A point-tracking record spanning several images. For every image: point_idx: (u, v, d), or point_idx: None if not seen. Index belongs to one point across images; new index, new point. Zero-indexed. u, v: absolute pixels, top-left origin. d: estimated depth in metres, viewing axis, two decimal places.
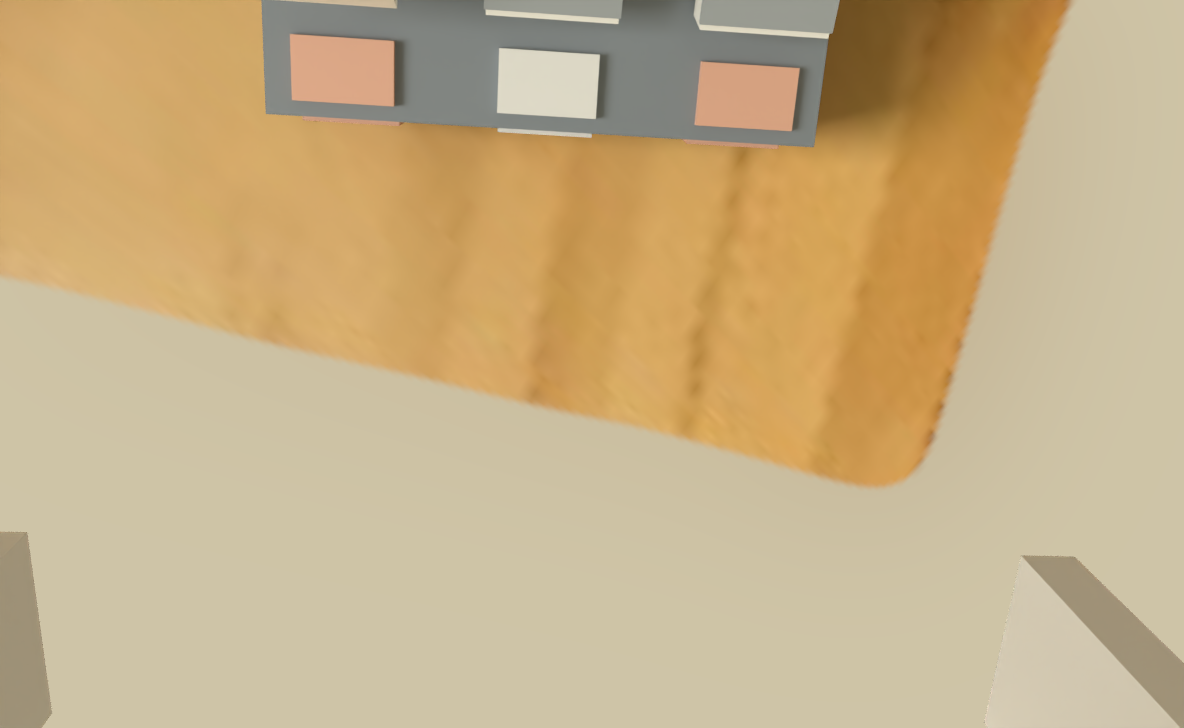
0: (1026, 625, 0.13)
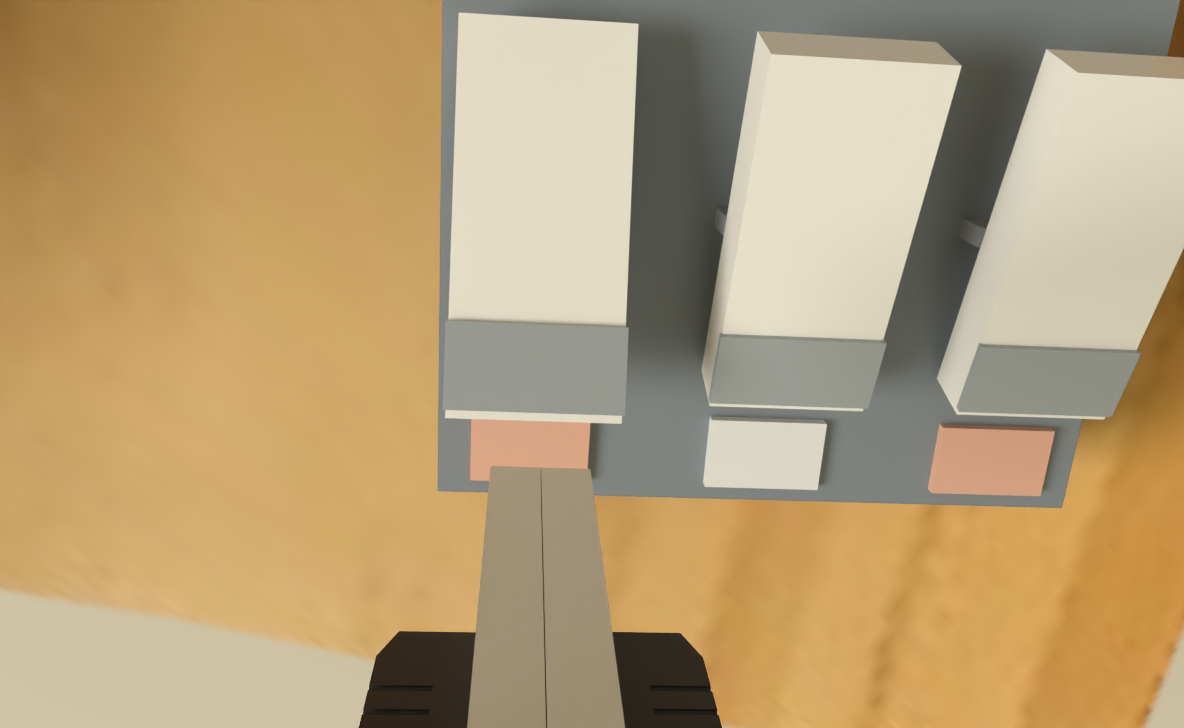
0: None
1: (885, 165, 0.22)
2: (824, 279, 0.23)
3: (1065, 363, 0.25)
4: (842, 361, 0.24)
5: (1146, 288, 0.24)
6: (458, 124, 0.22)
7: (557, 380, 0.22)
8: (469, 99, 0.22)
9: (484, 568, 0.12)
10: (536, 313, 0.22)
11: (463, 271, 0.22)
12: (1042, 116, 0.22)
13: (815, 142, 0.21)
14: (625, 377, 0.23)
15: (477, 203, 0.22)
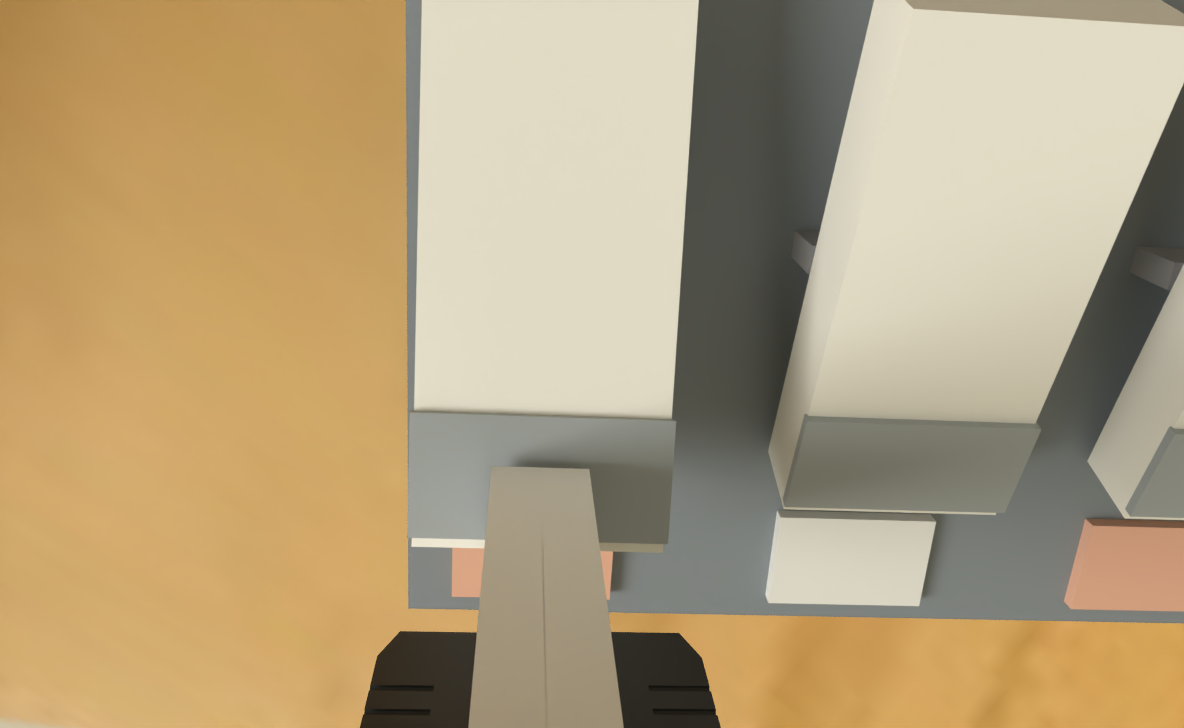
0: None
1: (1070, 180, 0.14)
2: (960, 341, 0.16)
3: None
4: (976, 452, 0.17)
5: None
6: (425, 119, 0.15)
7: None
8: (442, 81, 0.14)
9: (485, 568, 0.12)
10: (542, 400, 0.15)
11: (434, 339, 0.15)
12: None
13: (969, 145, 0.14)
14: (670, 488, 0.16)
15: (455, 239, 0.15)
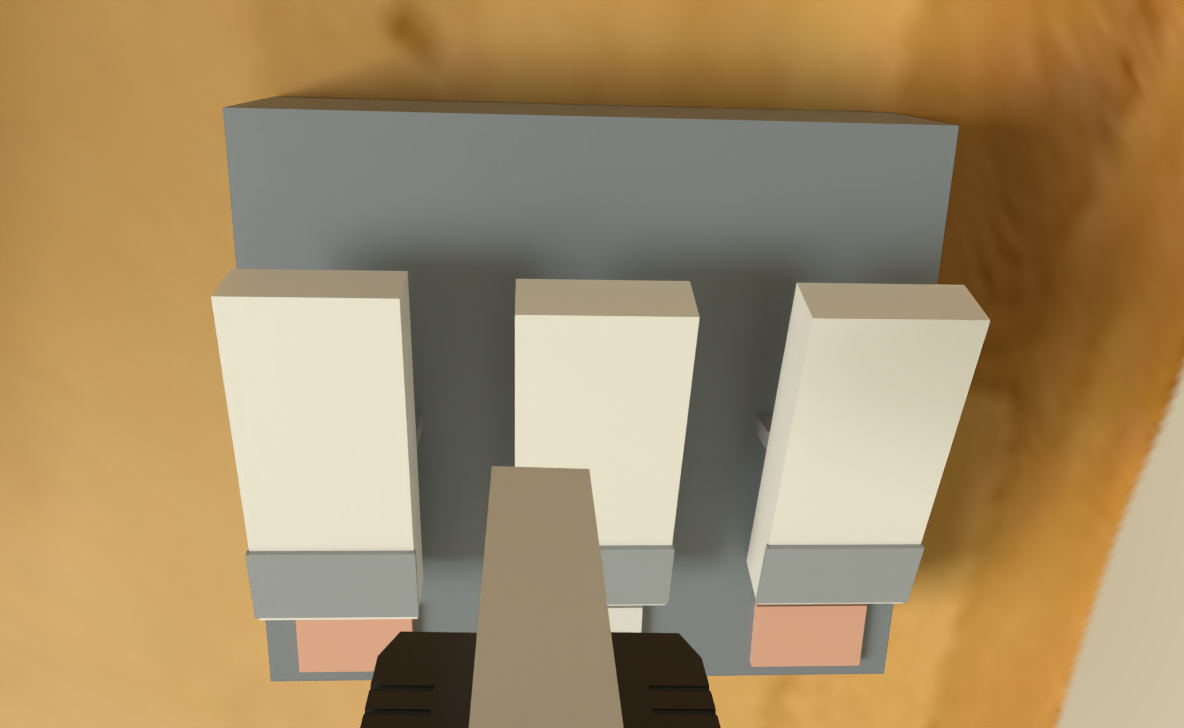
0: None
1: (643, 401, 0.23)
2: (604, 496, 0.24)
3: (852, 559, 0.26)
4: (634, 565, 0.25)
5: (918, 492, 0.25)
6: (229, 395, 0.22)
7: (354, 594, 0.25)
8: (236, 374, 0.22)
9: (486, 568, 0.12)
10: (329, 543, 0.24)
11: (255, 513, 0.24)
12: (796, 346, 0.23)
13: (572, 384, 0.22)
14: (417, 587, 0.25)
15: (260, 460, 0.23)
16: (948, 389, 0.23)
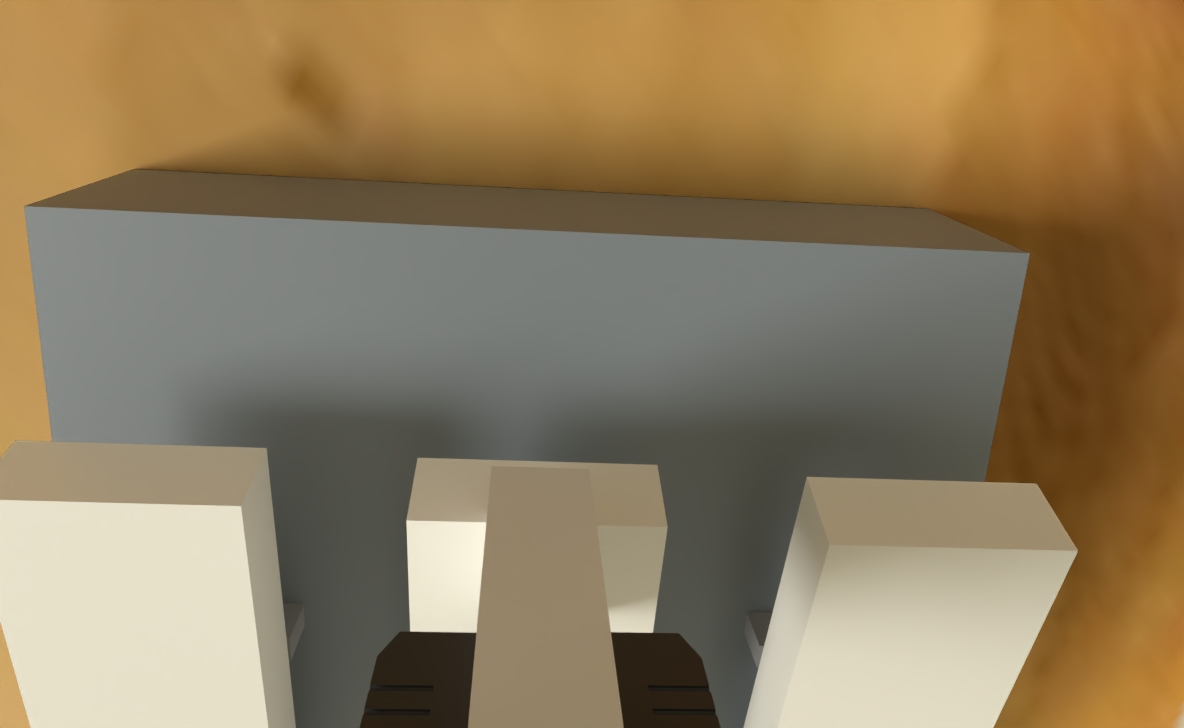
0: None
1: None
2: None
3: None
4: None
5: None
6: (7, 621, 0.16)
7: None
8: (14, 596, 0.16)
9: (485, 568, 0.12)
10: None
11: None
12: (803, 564, 0.17)
13: None
14: None
15: (57, 700, 0.17)
16: (1011, 631, 0.17)
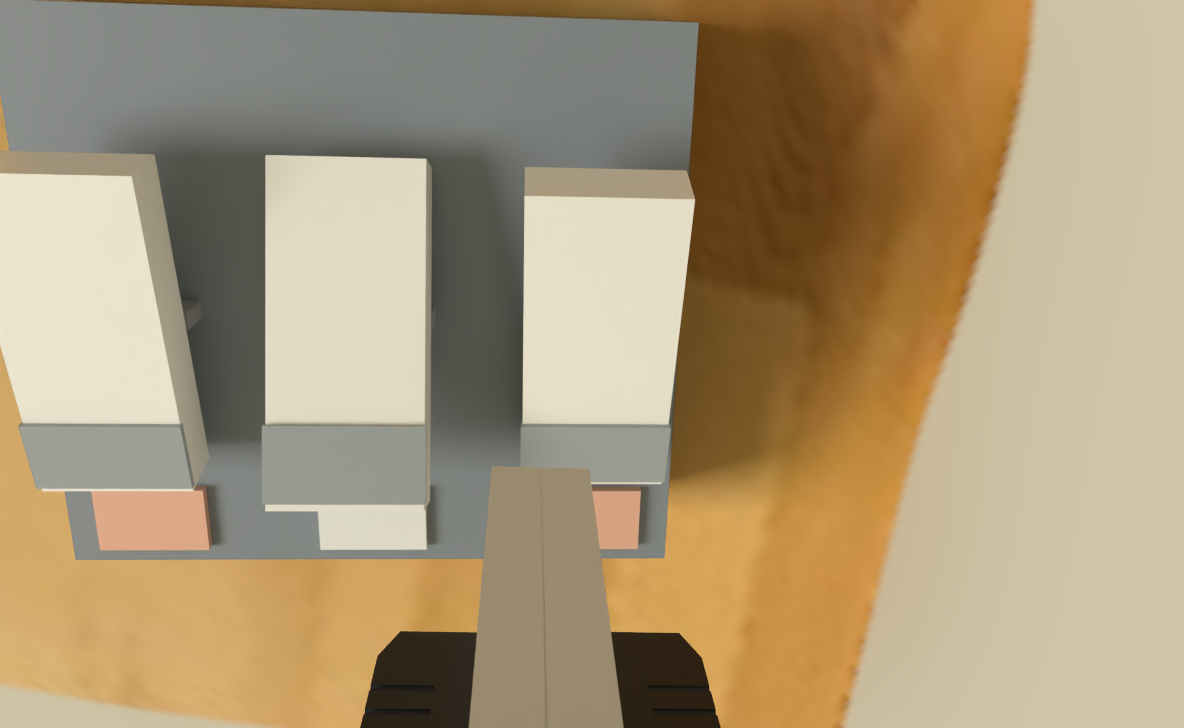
0: None
1: (383, 247, 0.25)
2: (352, 361, 0.25)
3: (604, 438, 0.27)
4: (386, 448, 0.25)
5: (657, 371, 0.26)
6: None
7: (128, 466, 0.27)
8: None
9: (486, 568, 0.12)
10: (98, 416, 0.26)
11: (24, 386, 0.25)
12: None
13: (317, 228, 0.25)
14: (188, 459, 0.27)
15: (20, 334, 0.25)
16: (667, 269, 0.24)
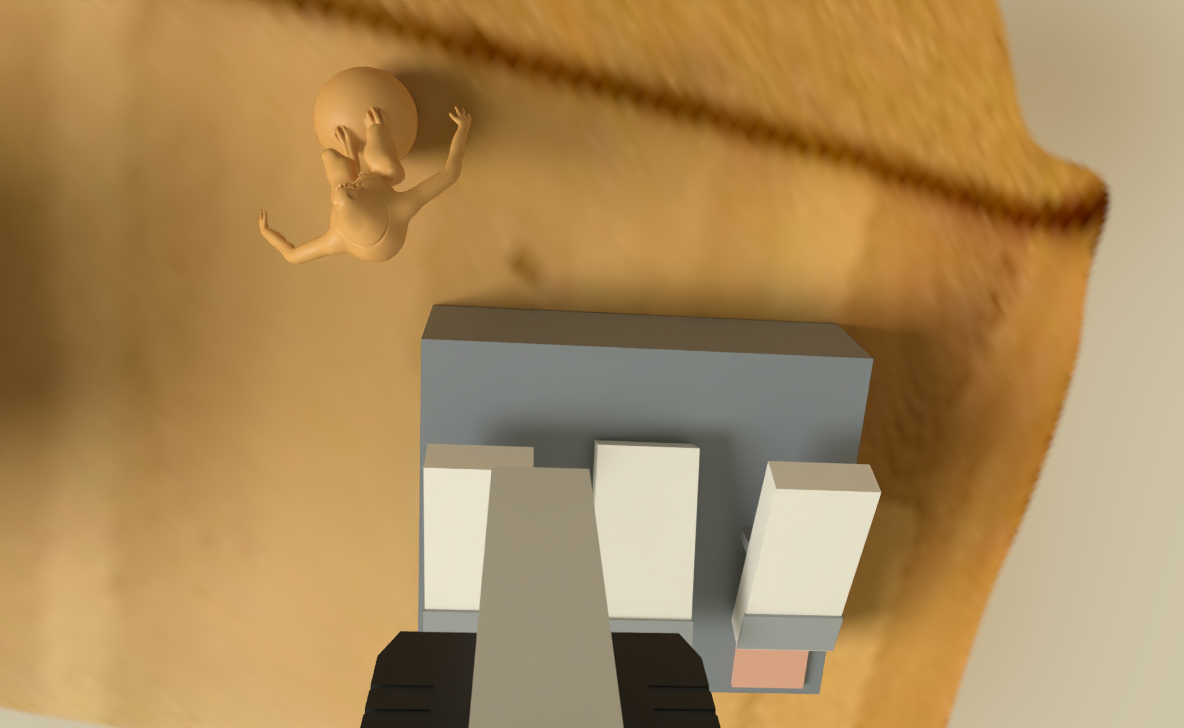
0: None
1: (670, 504, 0.39)
2: (647, 577, 0.39)
3: (798, 624, 0.41)
4: None
5: (839, 585, 0.40)
6: (426, 520, 0.37)
7: None
8: (432, 509, 0.37)
9: (485, 568, 0.12)
10: (474, 605, 0.39)
11: (432, 587, 0.39)
12: (766, 499, 0.38)
13: (628, 492, 0.39)
14: None
15: (439, 557, 0.38)
16: (857, 528, 0.38)
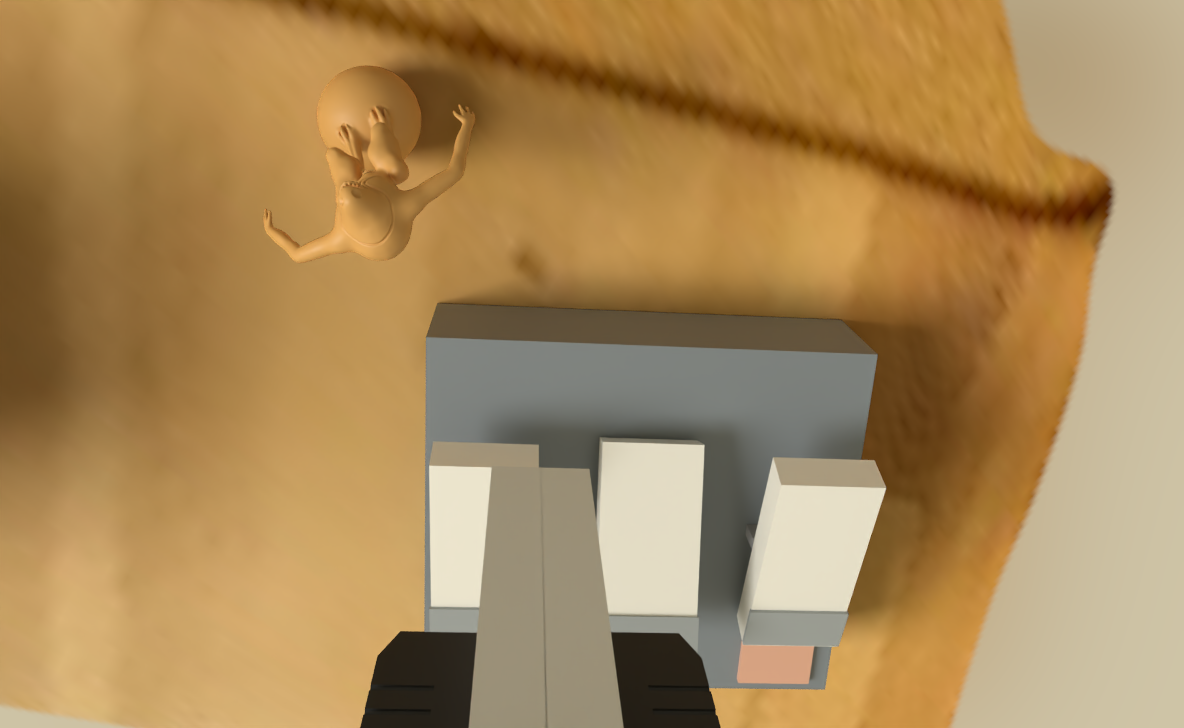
0: None
1: (675, 501, 0.39)
2: (652, 574, 0.39)
3: (803, 619, 0.41)
4: (673, 631, 0.39)
5: (845, 581, 0.40)
6: (432, 518, 0.37)
7: None
8: (438, 507, 0.37)
9: (486, 568, 0.12)
10: None
11: (438, 585, 0.39)
12: (771, 495, 0.38)
13: (633, 489, 0.39)
14: None
15: (444, 554, 0.38)
16: (862, 524, 0.38)
